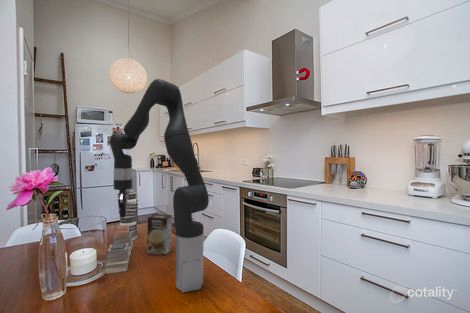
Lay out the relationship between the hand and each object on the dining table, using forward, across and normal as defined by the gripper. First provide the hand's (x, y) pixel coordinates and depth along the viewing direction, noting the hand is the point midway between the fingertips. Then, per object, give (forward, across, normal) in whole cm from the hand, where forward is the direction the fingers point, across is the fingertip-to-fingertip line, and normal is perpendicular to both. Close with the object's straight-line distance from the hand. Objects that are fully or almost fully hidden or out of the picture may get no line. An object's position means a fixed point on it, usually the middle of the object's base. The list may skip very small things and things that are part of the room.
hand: (123, 216), depth 103 cm
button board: (+16, -7, 0) cm, 17 cm away
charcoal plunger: (+12, -14, 0) cm, 19 cm away
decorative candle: (+16, +17, 0) cm, 23 cm away
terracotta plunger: (+9, 0, 0) cm, 9 cm away
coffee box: (+16, -5, -16) cm, 23 cm away
